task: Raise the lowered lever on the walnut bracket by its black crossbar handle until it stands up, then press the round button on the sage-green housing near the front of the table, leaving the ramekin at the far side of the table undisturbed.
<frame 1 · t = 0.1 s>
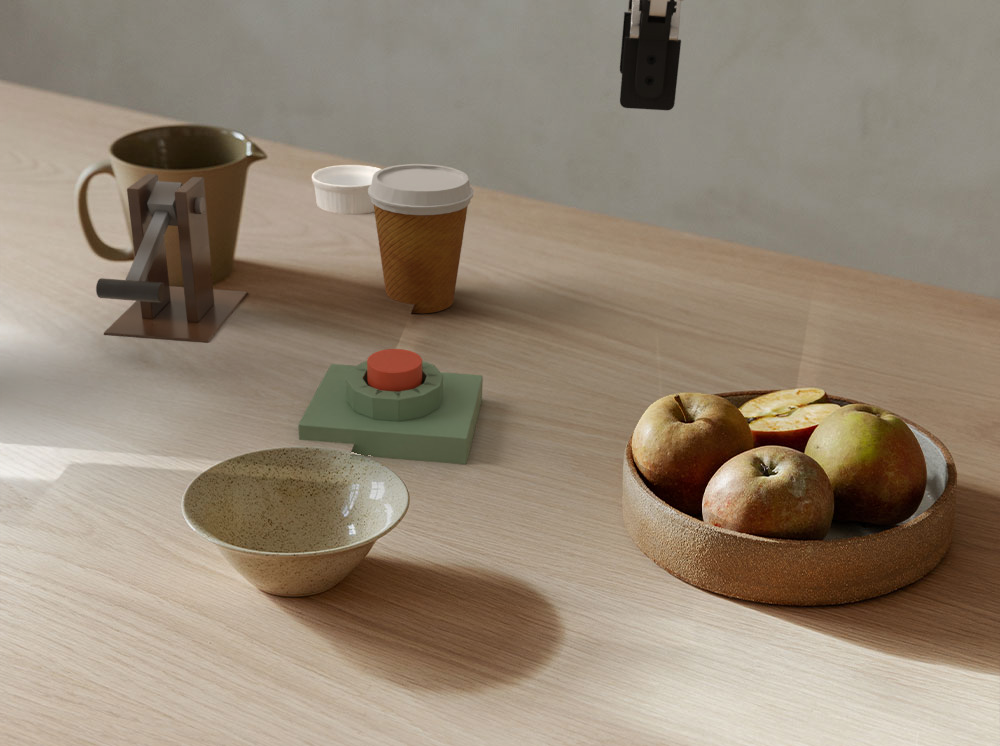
hand: (644, 90, 70), 26 cm above the table, tool pointing down, fingers open, 9 cm apart
button: (394, 370, 81), point 4 cm above the table, slide at 0.1 cm
bracket: (180, 323, 98), on the table
disposable coffee cup: (420, 302, 104), on the table
button box: (395, 424, 83), on the table
lever: (151, 242, 90), point 9 cm above the table, hinge at -25.0°
ramekin: (352, 212, 127), on the table
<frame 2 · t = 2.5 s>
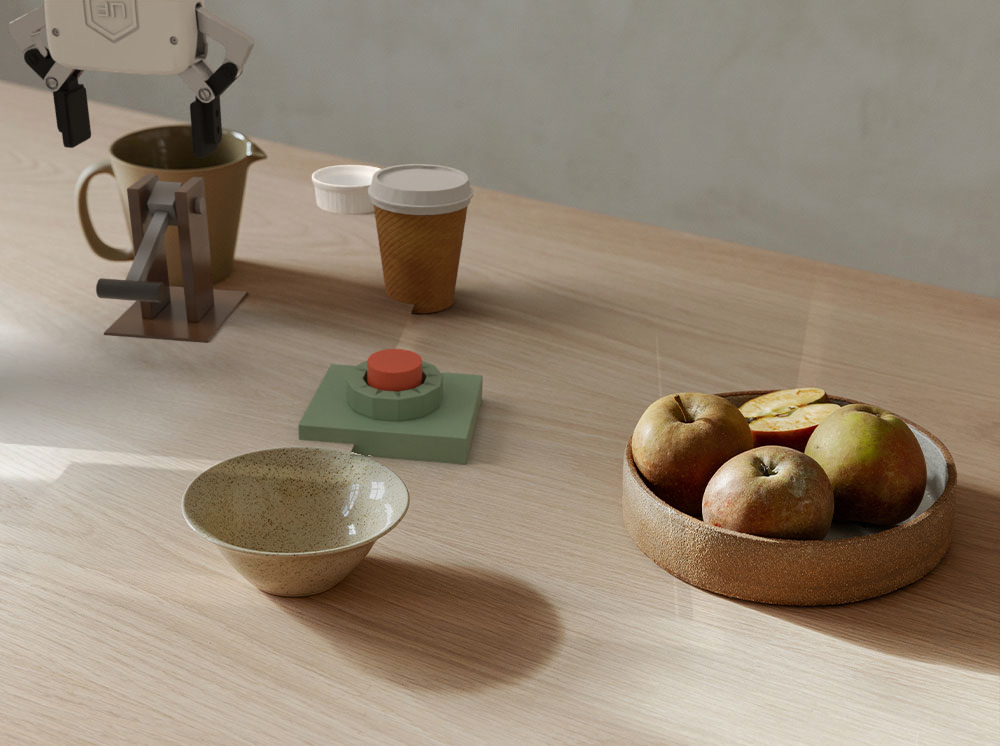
hand: (141, 148, 81), 18 cm above the table, tool pointing down, fingers open, 9 cm apart
nothing on the table moved.
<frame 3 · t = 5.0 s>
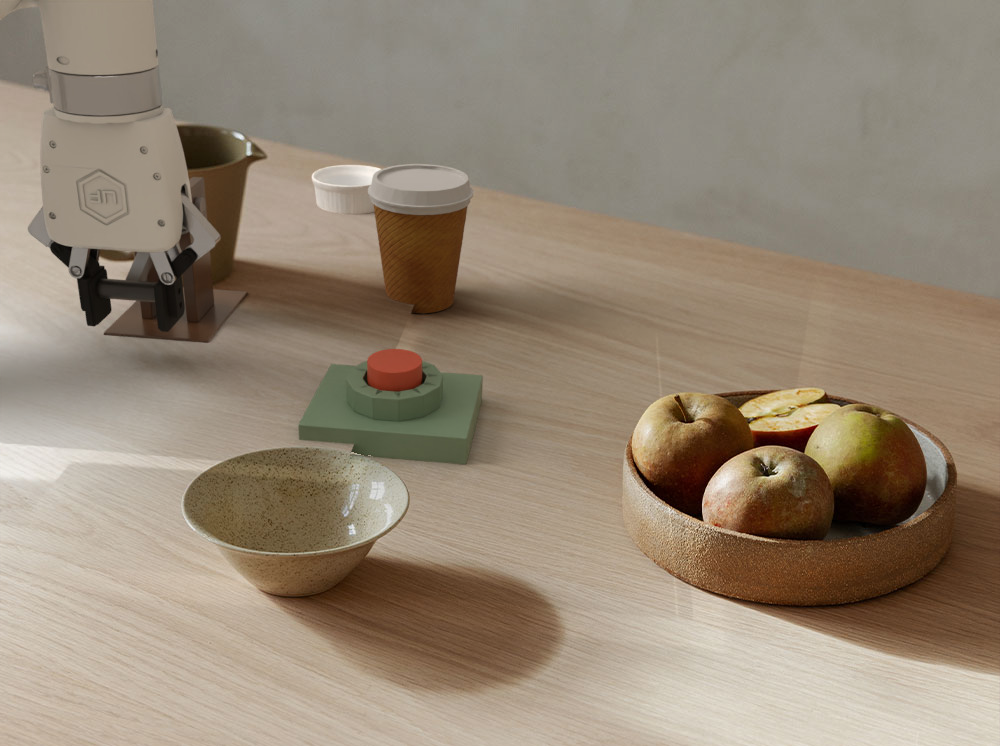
hand: (134, 320, 88), 4 cm above the table, tool pointing down, fingers closed on lever, 5 cm apart
lever: (151, 242, 90), point 9 cm above the table, hinge at -25.0°, touching gripper
everything else where it was.
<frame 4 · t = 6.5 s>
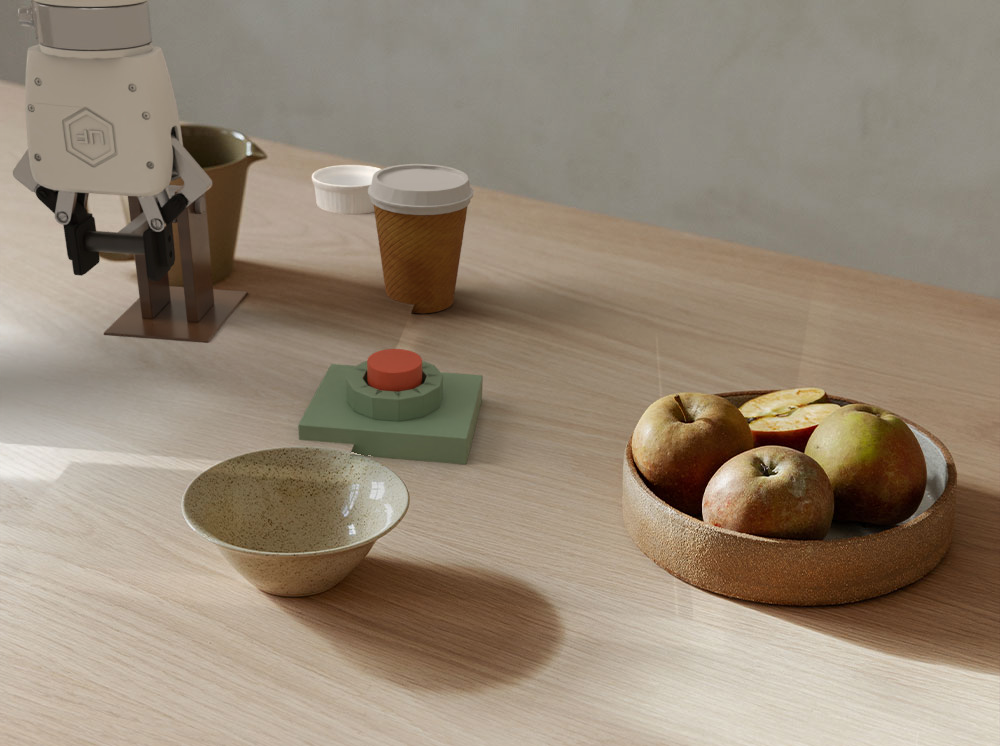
hand: (123, 269, 85), 9 cm above the table, tool pointing down, fingers closed on lever, 5 cm apart
lever: (146, 221, 88), point 11 cm above the table, hinge at 0.2°, touching gripper
everything else where it was.
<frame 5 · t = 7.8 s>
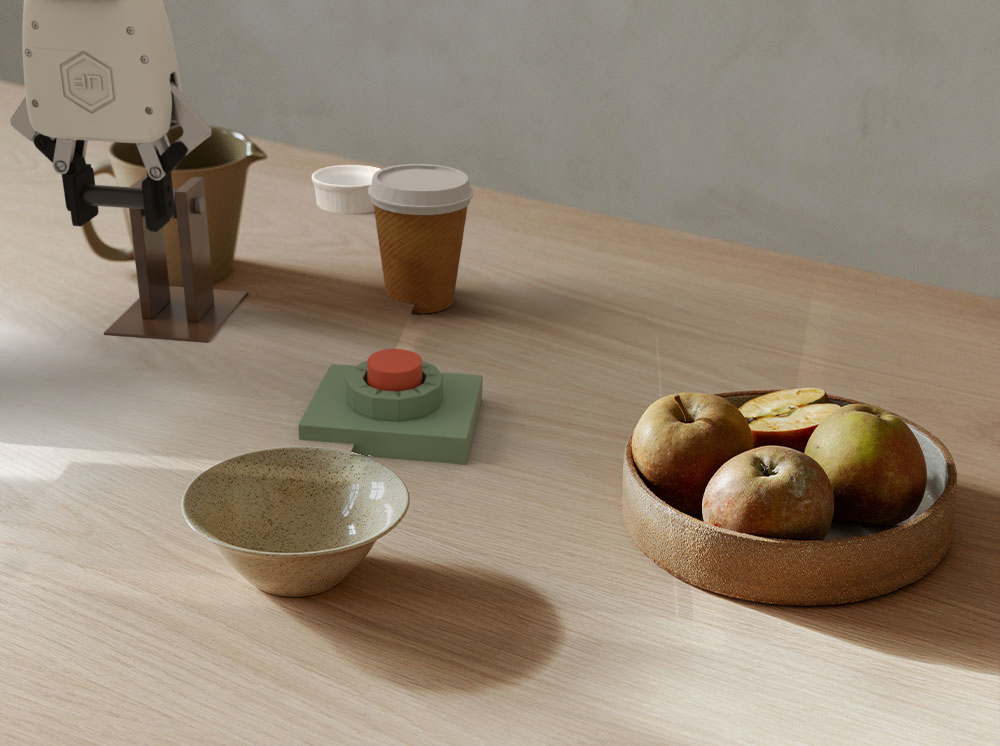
hand: (122, 221, 84), 12 cm above the table, tool pointing down, fingers closed on lever, 5 cm apart
lever: (145, 200, 88), point 13 cm above the table, hinge at 20.2°, touching gripper
everything else where it was.
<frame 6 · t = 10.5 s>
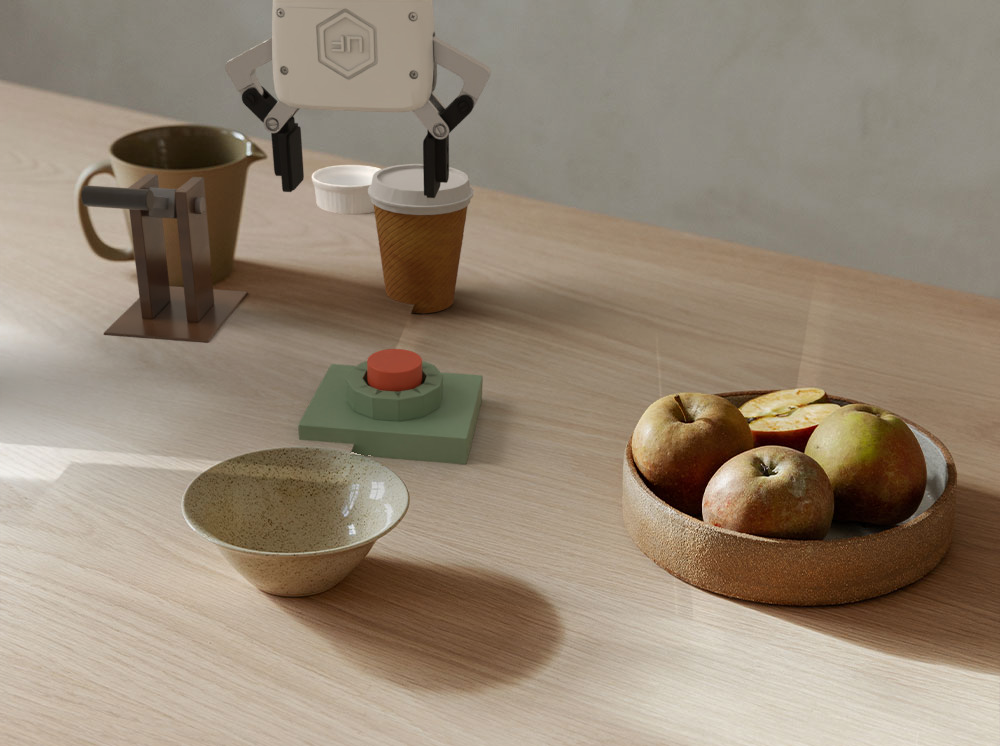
hand: (362, 189, 75), 18 cm above the table, tool pointing down, fingers open, 9 cm apart
lever: (145, 201, 88), point 13 cm above the table, hinge at 19.7°
everything else where it was.
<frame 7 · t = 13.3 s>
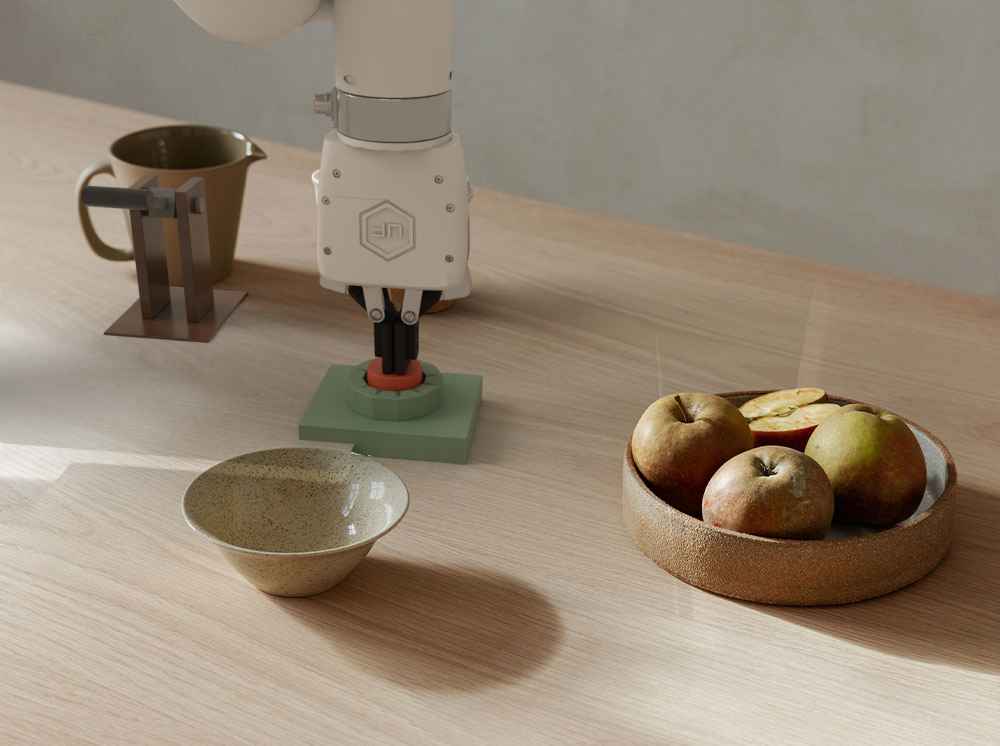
hand: (397, 365, 80), 5 cm above the table, tool pointing down, fingers closed
button: (394, 376, 81), point 4 cm above the table, slide at -0.4 cm, touching gripper
everything else where it was.
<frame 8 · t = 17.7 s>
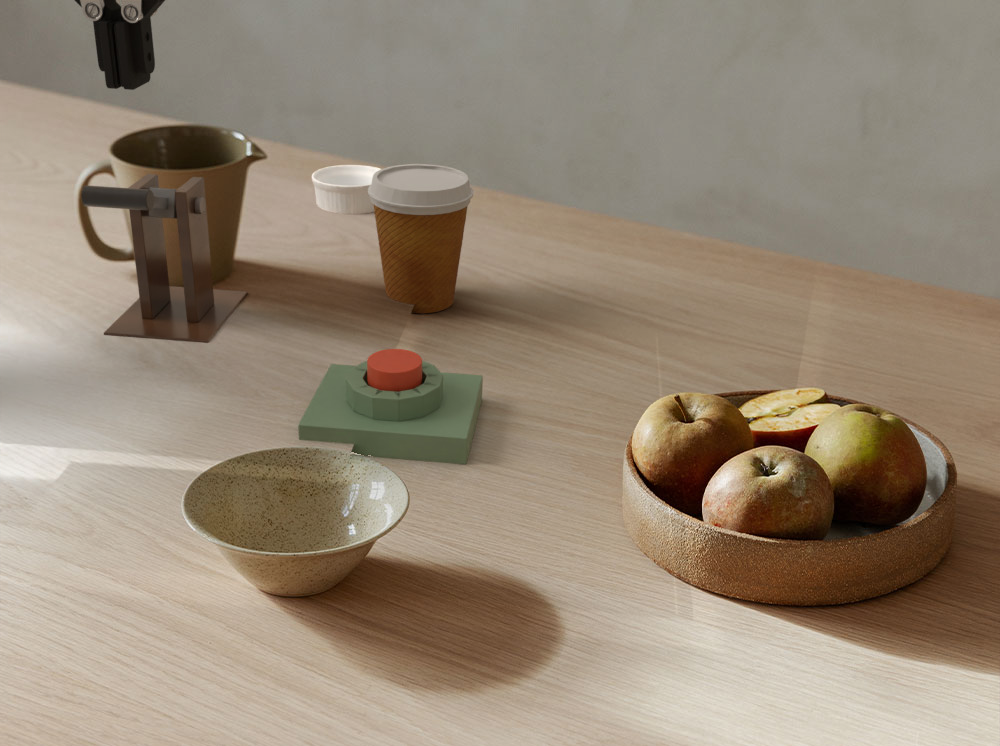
hand: (129, 84, 69), 25 cm above the table, tool pointing down, fingers closed
button: (394, 370, 81), point 4 cm above the table, slide at 0.1 cm
everything else where it was.
at the end: lever at +20° (first picture: -25°); button pushed in 1.1 cm at the most during the clip, back to where it started at the end; ramekin moved 0.2 cm from its start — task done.
